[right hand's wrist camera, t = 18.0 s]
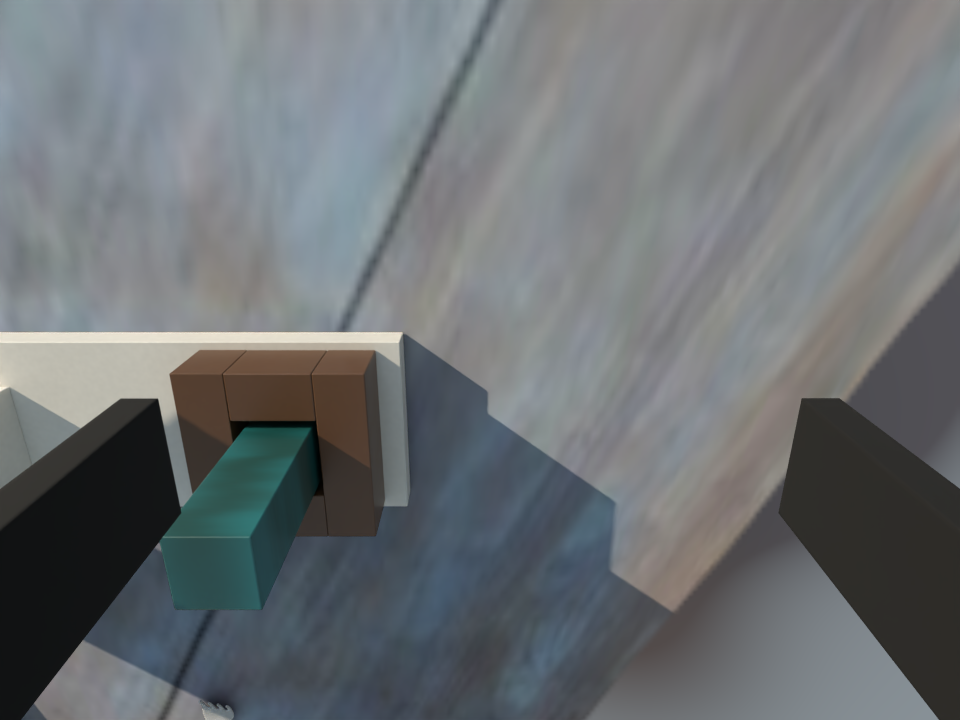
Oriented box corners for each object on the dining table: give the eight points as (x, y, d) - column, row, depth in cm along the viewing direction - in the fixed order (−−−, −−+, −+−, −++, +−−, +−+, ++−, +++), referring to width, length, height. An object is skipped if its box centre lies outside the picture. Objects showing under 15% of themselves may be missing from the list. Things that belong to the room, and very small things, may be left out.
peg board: (403, 332, 40) (365, 431, 27) (410, 490, 44) (381, 643, 31) (-58, 332, 40) (-321, 431, 27) (-7, 490, 44) (-212, 643, 31)
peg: (326, 401, 39) (250, 537, 26) (332, 456, 41) (262, 610, 28) (264, 401, 39) (157, 537, 26) (272, 456, 41) (174, 610, 28)
